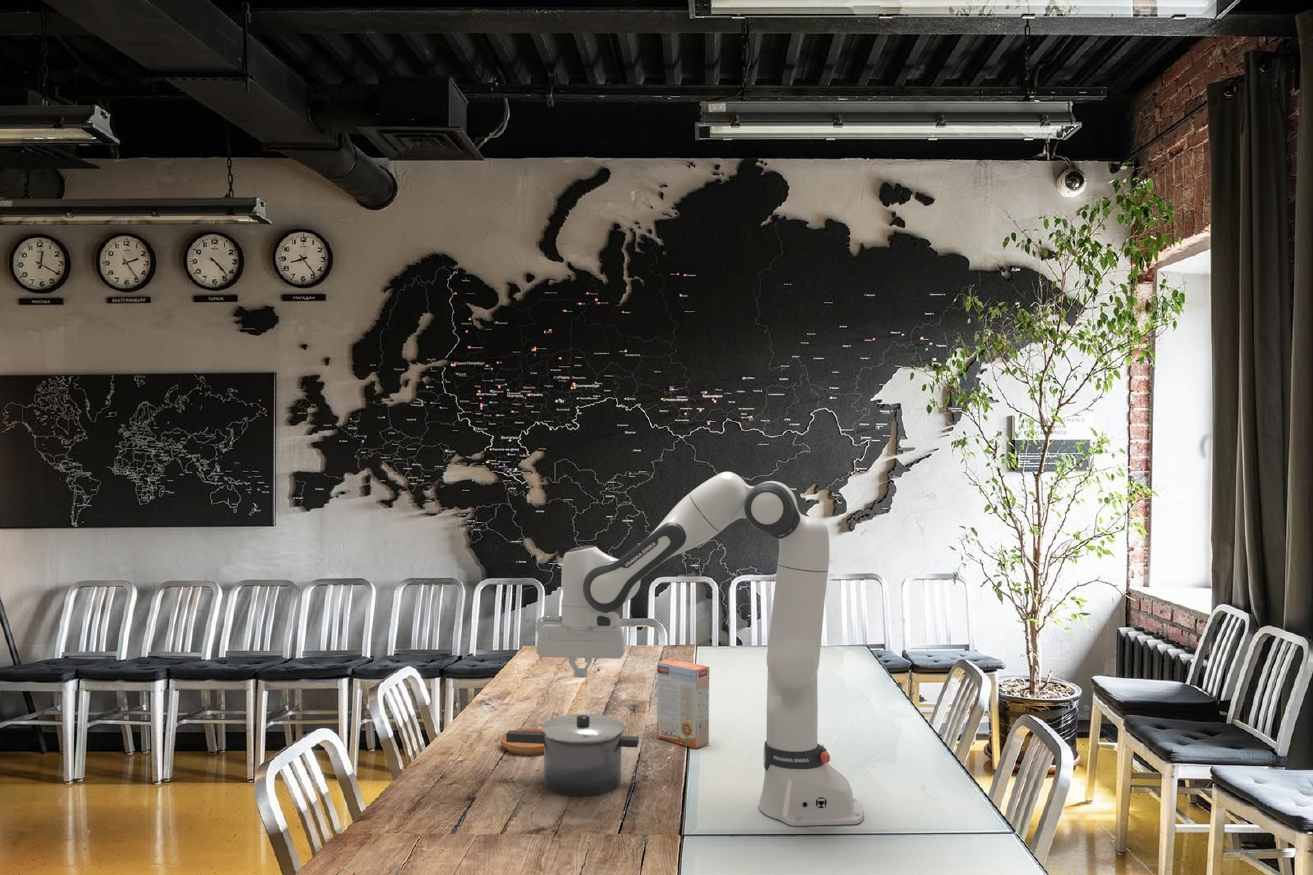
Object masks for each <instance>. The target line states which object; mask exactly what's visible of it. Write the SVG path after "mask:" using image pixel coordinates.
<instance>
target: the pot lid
mask: <svg viewBox="0 0 1313 875" xmlns="http://www.w3.org/2000/svg"><path fill="white" fill-rule="evenodd" d="M541 729H542V733H543V735H544V736H545V737H547V738H549V739H552V740H555V741H559V742H565V743H579V744H583V743H598V742H604V741H608V740H612V739H615V738H617V737H619V736H620V735H621V736H623V735H622V734H624V731H625V730H624V723H623V722H622V721H621V720H620V719H618V718H616V717H612V716H608V715H603V714H596V713H595V714H594V713H575V714H565V715H560V716H557V717H552V718H550V719H547V720H546V721H545V722H543V724H542V726H541Z"/></svg>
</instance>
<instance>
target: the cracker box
mask: <svg viewBox="0 0 1313 875" xmlns="http://www.w3.org/2000/svg"><path fill="white" fill-rule="evenodd" d="M656 688H657V691H656V692H657V693H656V697H657V698H656V699H657V700H656V701H657V702H656V738H657V737H660V738H663V739H665V740H664V741H666V740H669V741H668V742H670V741H672V742H671V743H673V742H678V743H682V744H684V745H687V746H688V747H687V746H686V747H687V748H692V749H694V750H695V749H698V748H702V747H704V746H708V745H709V742H710V741H709V739H710V738H709V734H710V733H709V732H710V730H709V729H710V716H709V715H710V666H707V665H703V664H697V663H693V662H687V661H683V660H678V659H673V658H668V659H664V660H661V661H658V662H657V686H656ZM663 739H662V740H663ZM684 745H683V746H684Z"/></svg>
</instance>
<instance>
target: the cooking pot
mask: <svg viewBox="0 0 1313 875" xmlns="http://www.w3.org/2000/svg"><path fill="white" fill-rule="evenodd" d="M506 733H507V734H506V742H513V743H535V744H544V753H543V786H544V787H543V788H545V789H546V790H547V791H549V792H551V793H553V794H556V795H559V796H565V797H572V798H573V797H574V798H575V797H576V798H583V797H584V798H586V797H587V798H588V797H596V796H601V795H602V796H603V795H605V794H609V793H612V792H613V791H616V790H617V789H618V788H620V787H621V786H620V785H621V784H620V783H622V748H636V749H637V748H638V746H639V743H640V741H639V740H640V737H639V736H632V735H629V736H628V735H620V736H619V737H617V738H615V739H612V740H608V741H604V742H598V743H583V744H579V743H565V742H559V741H555V740H552V739H549V738H547V737H545V736H544V735H543V733H542V732H530V731H513V730H508V731H507V732H506ZM616 788H617V789H616ZM615 789H616V790H615ZM608 792H609V793H608Z"/></svg>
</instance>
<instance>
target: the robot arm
mask: <svg viewBox="0 0 1313 875" xmlns="http://www.w3.org/2000/svg"><path fill="white" fill-rule="evenodd" d="M798 502H799V501H798V498H797V496H796V494H795V492H794V490H793V489H792V488H791V487H789V486H788V485H786V484H785V483H783V482H780V481H775V480H769V481H764V482H761V483H756V484H752V485H749V484H747V482H745V480H744V479H743V478H742V477H741V476H739V475H738V474H736V473H735V472H731V471H723V472H720V473H718V474H717V475H714V476H713V477H711V478H709V479H708V480H706V481H704V482H703V483H701V484H700V485H698V486H697V487H696V488H694V489H693V490H692V491H690V492H689V493H688V494H687V495H686V496H684V497H683V498H682V499H681V500H680V501H679V502H678V503H677V504H676V505H675V506H674V507H672V509H671V511H669V512H668V514H667V515H666V516H665V517H664V519H663V520H662V521H661V522H660V524H658V526H657V527H656V528H655V529H654V530H653V531H652V532H651V533H650V534H649V535H647V537H646V538H645V539H643V540H642V541H641V542H639V544H637V545H636V546H635V547H633V548H632V549H631V550H630V551H628V552H627V553H625V555H623V556H622V557H621V558H616V557H614V556H611V555H609V554H607V553H605V552H603V551H601V549H599V548H598V547H597V546H596V545H584V546H583V545H582V546H578V547H574V548H571V549H569V550H567V551H565V553H564V555H563V557H562V565H561V580H560V583H561V587H562V588H561V589H562V599H561V603H560V604H561V608H560V609H561V610H560V611H561V615H553V616H548V615H544V616H543V615H542V617H540V618H539V619H538V620H536V624H535V626H536V627H535V630H536V633H537V641H536V654H537V655H538V657H540V658H563V659H564V658H568V663H569V666H570V667H571V668H572V670H573V678H588V670H589V668H590V666H591V664H592V662H593V659H621V658H622V657H623V656H624V655H625V653H626V648H625V647H626V645H625V643H626V642H625V637H624V631H623V628H622V626H621V625H620V624H619V623H620V614H619V613H617V612H615V611H616V610H618V609H619V608H621V607H622V606H623V605H624V604H625V603H627V602H628V601H630V600H631V599H632V598H634V597H635V596H636V595H637V594H638V592H639V590H640V588H641V585H642V584H641V582H642V579H643V578H645V577H646V576H647V575H648V574H649V573H651V572H652V571H654V569H656V568H657V567H659V566H660V565H661V564H662V563H664V562H666V561H667V560H669V559H670V558H672V557H675V556H676V555H679V554H682V553H684V552H687V551H690V550H692V549H695V548H696V547H699V546H701V545H702V544H704V543H706V542H707V541H710V540H711V539H713V537H715V536H717V535H718V534H719V533H721V532H722V531H723V530H724V529H725V528H727V527H728V526H729V525H730V524H732V523H734V522H735V521H737V520H740V519H746V520H747V521H748V523H749V524H750V525H751V526H752V527H754V528H755V529H756V530H758V531H759V532H762V533H764V534H767V535H769V536H771V537H773V538H775V539H777V541H778V547H779V550H778V559H777V565H776V566H777V567H776V574H775V585H774V592H773V593H774V594H773V599H772V601H773V602H772V609H771V618H770V619H771V620H770V626H769V635H768V636H769V637H768V645H767V652H766V653H767V654H766V666H767V681H766V682H767V685H766V687H767V688H766V740H765V741H764V746H763V768H764V779H763V785H762V789H761V790H762V791H761V794H760V799H759V801H758V806H757V808H758V809H759V811H760V812H761V813H762V814H764V815H765V816H768V817H770V818H772V819H776V820H779V821H782V822H783V823H784V824H786V825H788V826H792V827H795V826H796V827H797V826H803V827H804V826H833V825H834V826H835V825H837V826H838V825H841V826H842V825H857V824H860V823H862V821H863V820H864V817H865V816H864V808H863V806H862V803H860V802H859V800H858V799H856V798H854V796H853V791H852V787H851V784H850V782H849V780H848V779H847V777H846V776H845V775H843V774H842V773H841V772H839V771H838V770H837V769H836V768H834V767H833V766H832V765H831V764H829V762H831V755H830V753H829V752H827V748H826V747H825V746H824V744H820V743H818V727H819V726H818V721H819V720H818V713H819V710H818V709H819V706H818V705H819V704H818V670H819V666H820V657H821V656H820V655H821V647H822V637H823V636H822V635H823V624H824V611H825V601H826V593H827V584H828V575H829V566H830V536H829V528H828V527H827V525H826V524H825V523H824V522H823V521H821V520H820V519H818V518H815V517H813V516H807V515H804V514H802V513H801V512H800V510H799V503H798ZM579 658H580V659H584V663H586V665H585V667H578V665H577V663H576V662H577V659H579Z"/></svg>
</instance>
